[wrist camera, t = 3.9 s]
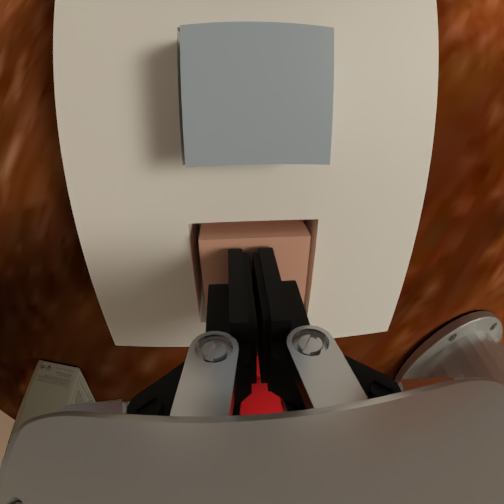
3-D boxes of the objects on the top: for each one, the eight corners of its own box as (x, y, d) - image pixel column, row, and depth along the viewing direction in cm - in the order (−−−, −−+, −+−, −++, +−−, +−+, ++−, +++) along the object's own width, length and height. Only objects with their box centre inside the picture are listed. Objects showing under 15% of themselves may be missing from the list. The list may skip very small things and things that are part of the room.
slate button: (307, 41, 9) (333, 27, 6) (305, 145, 11) (329, 164, 8) (192, 41, 9) (179, 25, 6) (196, 147, 11) (185, 167, 8)
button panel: (381, -75, 7) (416, -102, 4) (362, 286, 18) (387, 331, 15) (105, -77, 6) (76, -107, 3) (132, 297, 18) (115, 345, 14)
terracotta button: (295, 205, 14) (310, 236, 11) (290, 279, 16) (301, 319, 13) (204, 208, 13) (198, 240, 11) (210, 283, 15) (208, 324, 13)
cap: (298, 439, 22) (326, 445, 17) (231, 465, 20) (241, 481, 15) (263, 355, 25) (281, 340, 20) (195, 378, 23) (195, 369, 18)
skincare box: (38, 357, 20) (-8, 478, 10) (82, 366, 21) (43, 501, 10) (61, 398, 23) (32, 504, 13) (100, 406, 24) (77, 520, 13)
